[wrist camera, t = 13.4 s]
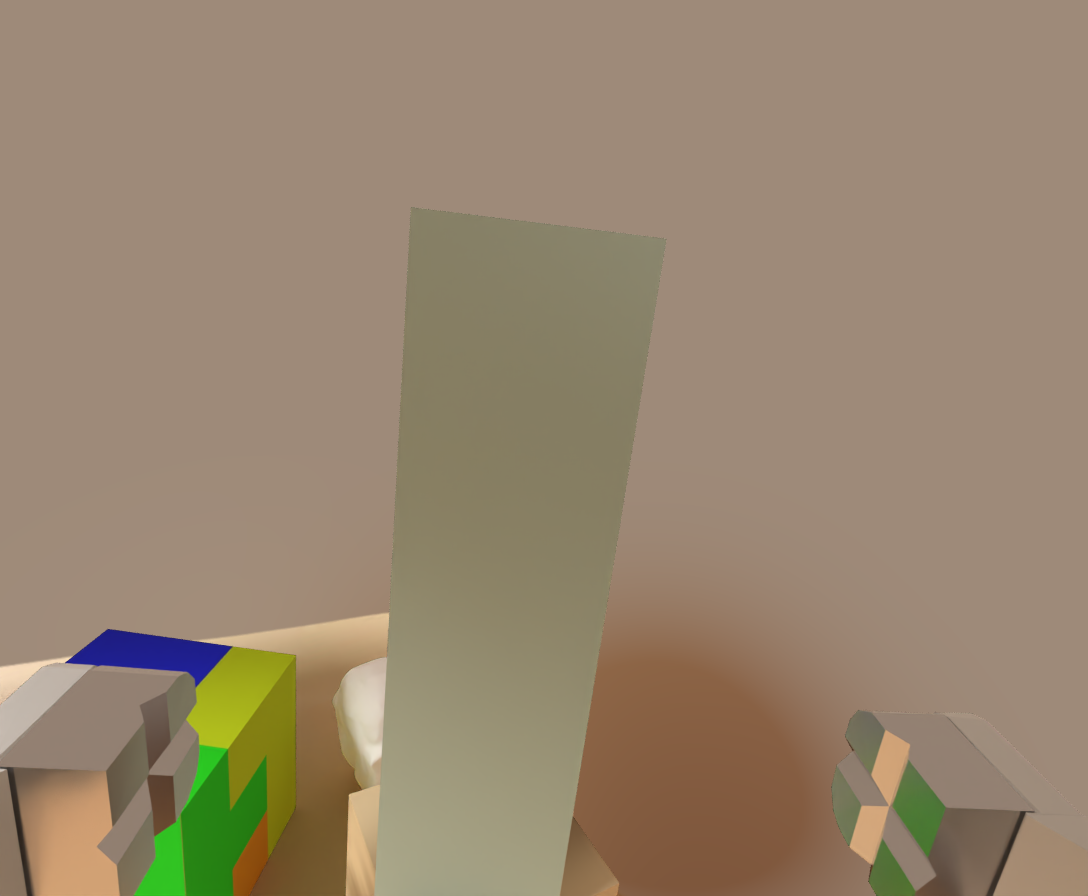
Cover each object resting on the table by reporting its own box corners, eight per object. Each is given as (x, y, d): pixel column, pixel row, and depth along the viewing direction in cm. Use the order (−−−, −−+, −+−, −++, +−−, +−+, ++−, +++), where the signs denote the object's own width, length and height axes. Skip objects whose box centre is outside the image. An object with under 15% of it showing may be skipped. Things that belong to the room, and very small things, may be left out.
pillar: (373, 913, 20) (410, 207, 14) (403, 772, 25) (439, 216, 19) (555, 921, 20) (666, 239, 14) (547, 781, 25) (626, 239, 20)
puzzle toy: (122, 782, 37) (107, 628, 34) (295, 808, 37) (295, 655, 34) (-38, 965, 28) (-78, 775, 25) (193, 1002, 28) (180, 813, 25)
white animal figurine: (328, 643, 37) (503, 610, 45) (312, 771, 39) (482, 718, 47) (374, 711, 33) (560, 661, 40) (353, 851, 35) (534, 778, 42)
